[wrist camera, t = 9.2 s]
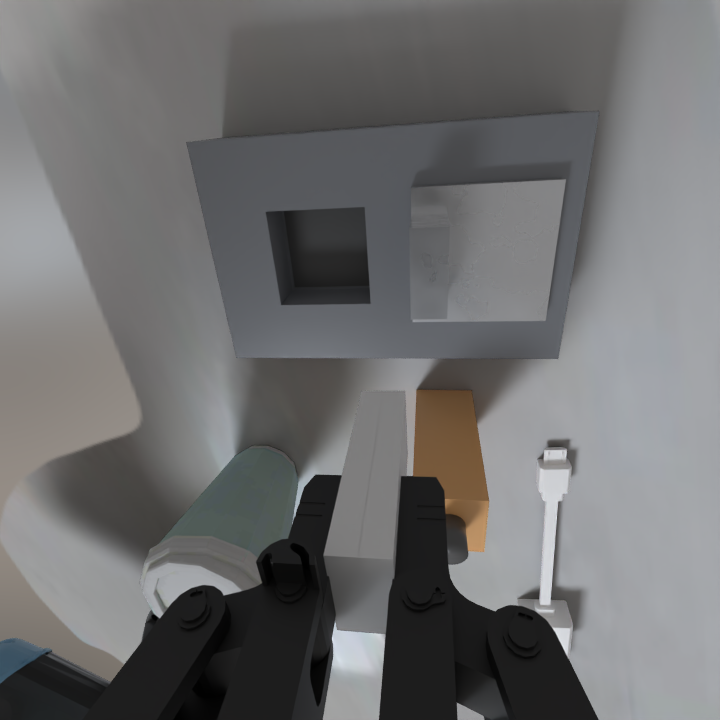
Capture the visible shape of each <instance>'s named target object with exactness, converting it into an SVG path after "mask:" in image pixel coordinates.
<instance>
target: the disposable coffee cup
mask: <svg viewBox="0 0 720 720" xmlns="http://www.w3.org/2000/svg"><path fill="white" fill-rule="evenodd" d="M297 488H298V478H297V473H296V469H295V465H294V462H293V461H292V460H291V459H290V458H289V457H288V456H287V455H286V454H285V453H284V452H282V451H280V450H278V449H275V448H273V447H270V446H268V445H267V446H251V447H249V448H247V449H246V450H244V451H242V452H241V453H239V454H237V455H236V456H234V458H233V459H232V460H231V461H230V462H229V463H228V465H227V466H226V467H225V468H224V469H223V470H222V471H221V473H220V474H219V475H218V476H217V477H216V478H215V479H214V481H213V482H212V483H211V484H210V485H209V486H208V488H207V489H206V490H205V491H204V492H203V493H202V494H201V496H200V497H199V498H198V499H197V500H196V501H195V503H194V504H193V505H192V506H191V507H190V508H189V509H188V511H187V512H186V513H185V514H184V515H183V516H182V517H181V519H180V520H179V521H178V522H177V523H176V524H175V526H174V527H173V528H172V529H171V530H170V531H169V532H168V534H167V535H166V536H165V537H164V538H163V539H162V541H161V542H160V543H159V544H158V545H156V546H154V547H152V548H151V549H150V551H149V554H148V556H147V558H146V560H145V563H144V566H143V570H142V574H141V578H140V585H141V587H142V592H143V594H144V596H145V598H146V600H147V602H148V604H149V606H150V607H151V609H152V611H153V613H154V614H155V615H156V616H157V617H159V618H161V616H162V615H163V614H164V612H165V611H166V610H167V608H168V607H169V606H170V605H171V603H172V602H173V601H174V600H175V599H176V598H177V597H178V596H179V595H180V594H182V593H184V592H185V591H187V590H189V589H191V588H193V587H197V586H201V585H210V586H215V587H216V588H218V589H219V590H221V591H222V593H223V595H228V594H232V593H236V592H240V591H244V590H248V589H250V588H253V587H256V586H258V585H260V584H261V583H262V581H261V578H260V575H259V571H258V568H257V564H256V560H257V559H258V557H259V555H260V554H261V552H262V551H263V550H264V549H266V548H267V547H268V546H269V545H270V544H272V543H274V542H277V541H279V540H281V539H288V536H289V533H290V530H291V527H292V520H293V514H294V507H295V501H296V495H297Z"/></svg>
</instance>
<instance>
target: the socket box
mask: <svg viewBox="0 0 720 720" xmlns="http://www.w3.org/2000/svg"><path fill="white" fill-rule="evenodd" d="M598 117H599V111H570V112H557V113H544V114H531V115H517V116H504V117H491V118H478V119H465V120H452V121H438V122H425V123H412V124H399V125H386V126H373V127H359V128H346V129H333V130H320V131H307V132H293V133H280V134H267V135H254V136H241V137H228V138H217V139H209V140H201V141H193V142H186V143H187V147H188V151H189V156H190V160H191V164H192V169H193V173H194V177H195V182H196V186H197V190H198V195H199V199H200V203H201V208H202V212H203V216H204V221H205V225H206V229H207V233H208V238H209V242H210V246H211V251H212V255H213V259H214V264H215V268H216V272H217V277H218V281H219V285H220V290H221V294H222V298H223V302H224V307H225V311H226V315H227V320H228V324H229V328H230V333H231V337H232V341H233V346H234V350H235V354H236V358H448V359H558V357H559V351H560V345H561V339H562V333H563V327H564V321H565V315H566V309H567V303H568V297H569V291H570V285H571V279H572V273H573V267H574V261H575V255H576V249H577V243H578V237H579V231H580V225H581V219H582V213H583V207H584V201H585V195H586V189H587V183H588V177H589V171H590V165H591V159H592V153H593V147H594V141H595V135H596V129H597V123H598ZM552 178H564V179H566V183H565V190H564V197H563V204H562V211H561V218H560V225H559V232H558V239H557V245H556V252H555V259H554V266H553V273H552V280H551V287H550V294H549V301H548V308H547V315H546V321H481V322H413V320H411V307H410V242H409V227H410V221H411V186H424V185H443V184H461V183H479V182H497V181H516V180H534V179H552Z"/></svg>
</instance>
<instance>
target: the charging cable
mask: <svg viewBox="0 0 720 720" xmlns="http://www.w3.org/2000/svg"><path fill="white" fill-rule="evenodd" d="M566 455H567V449H566V448H564V447H549V448H545V449H544V459H537V473H536V484H537V487H538V491H539V492H541V497H542V500H544V501H545V514H544V531H543V548H542V565H541V581H540V598H539V599H517V606H523V607H526V608H529V609H531V610H534V611H536V612H537V613H538V614H539V615H541V616H542V617H543V618H545V619H546V620H547V621H548V623H549V624H550V626H551V627H552V628H553V630H554V631H555V633H556V635H557V637H558V639H559V641H560V643H561V645H562V647H563V649H564V651H565V653H566V655H567V657H568V659H569V657H570V649H571V640H572V631H573V623H572V619H571V616H570V613H569V609H568V606H567V602H566V601H565V600H551V588H552V575H553V562H554V548H555V535H556V522H557V509H558V501H562V500H563V498H564V494H567V493H568V492H569V491H570V482H571V470H572V466H571V464H570V462H569V460H568V458H566Z"/></svg>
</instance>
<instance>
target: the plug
mask: <svg viewBox="0 0 720 720" xmlns="http://www.w3.org/2000/svg"><path fill="white" fill-rule="evenodd" d="M413 476H419V477H437V479H438V481H439V482H440V484H441V486H442V487H443V489H444V492H445V511H446V530H447V550H448V564H452V565H453V564H459V563H462V562H463V561H465V560H466V559H467V557H468V551H475V552H484V548H485V538H486V528H487V518H488V508H489V497H488V491H487V484H486V478H485V472H484V465H483V459H482V453H481V447H480V440H479V434H478V428H477V421H476V415H475V409H474V402H473V396H472V390H417V391H416V416H415V442H414V467H413Z"/></svg>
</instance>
